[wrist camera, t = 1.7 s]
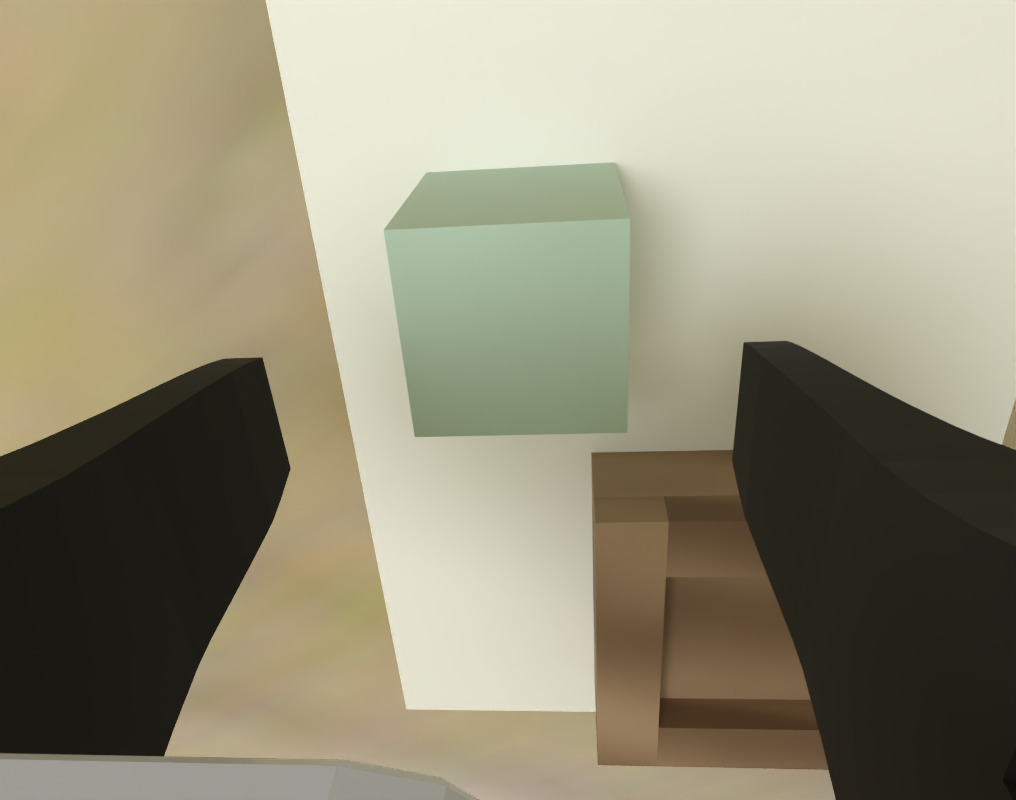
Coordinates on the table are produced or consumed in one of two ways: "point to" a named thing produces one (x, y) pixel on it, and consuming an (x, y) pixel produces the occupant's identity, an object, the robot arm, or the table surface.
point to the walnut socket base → (689, 623)
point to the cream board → (650, 259)
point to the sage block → (514, 300)
